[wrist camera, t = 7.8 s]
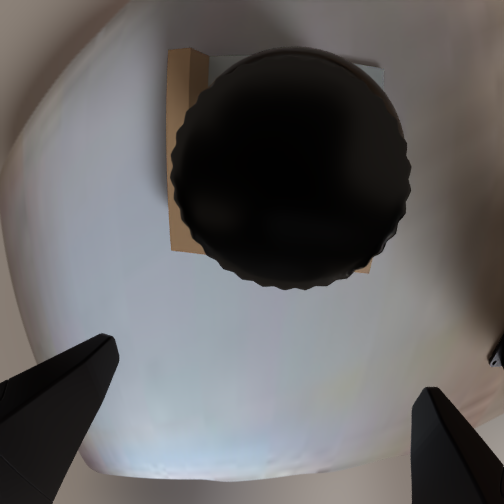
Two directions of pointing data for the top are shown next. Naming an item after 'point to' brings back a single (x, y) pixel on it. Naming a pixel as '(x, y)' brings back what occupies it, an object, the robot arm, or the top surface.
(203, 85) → the corner arena
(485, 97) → the top surface
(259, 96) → the supplement bottle
